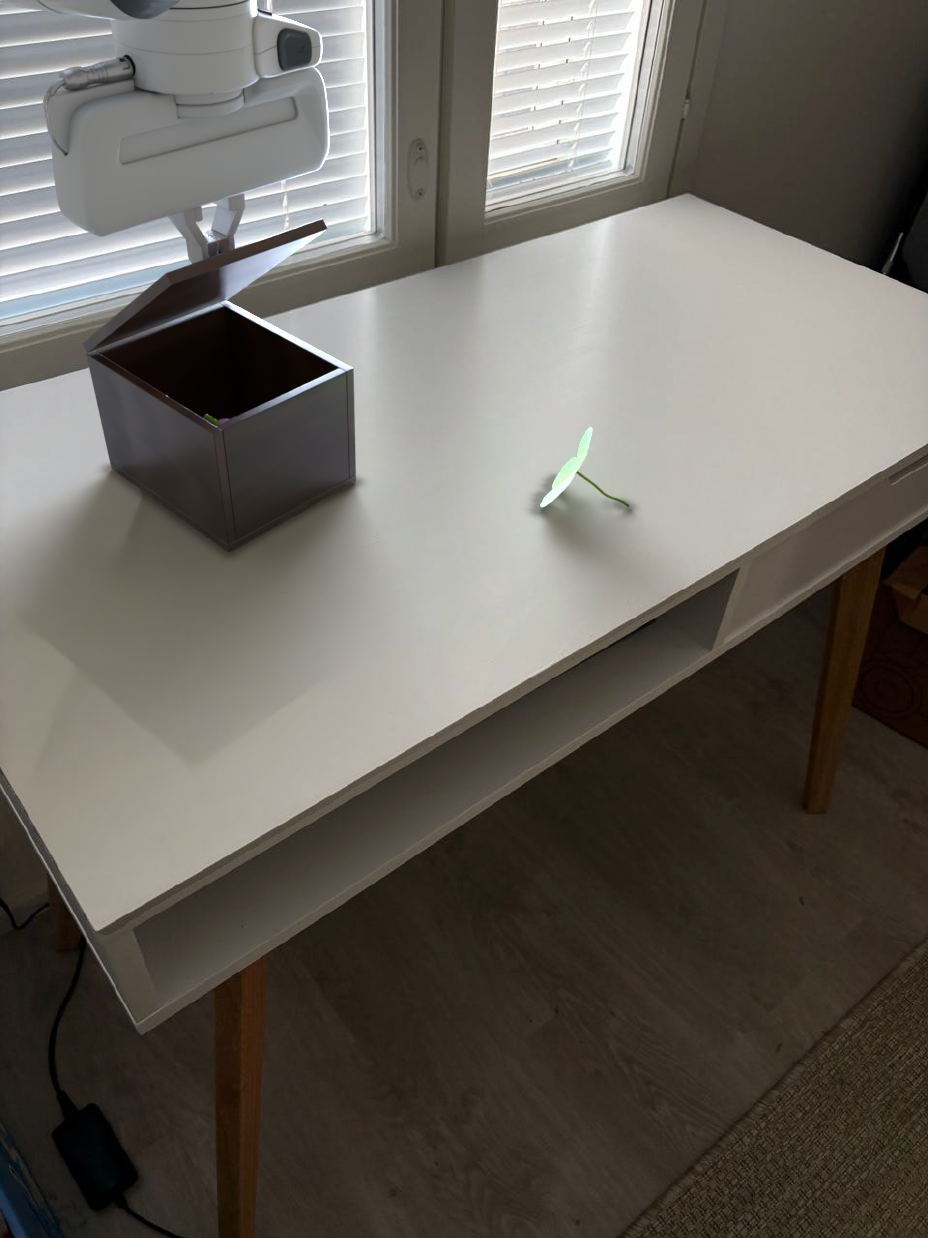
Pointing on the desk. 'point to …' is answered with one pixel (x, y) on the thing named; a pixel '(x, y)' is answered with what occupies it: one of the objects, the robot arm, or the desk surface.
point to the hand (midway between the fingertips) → (212, 260)
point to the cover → (202, 284)
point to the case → (238, 448)
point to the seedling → (573, 472)
